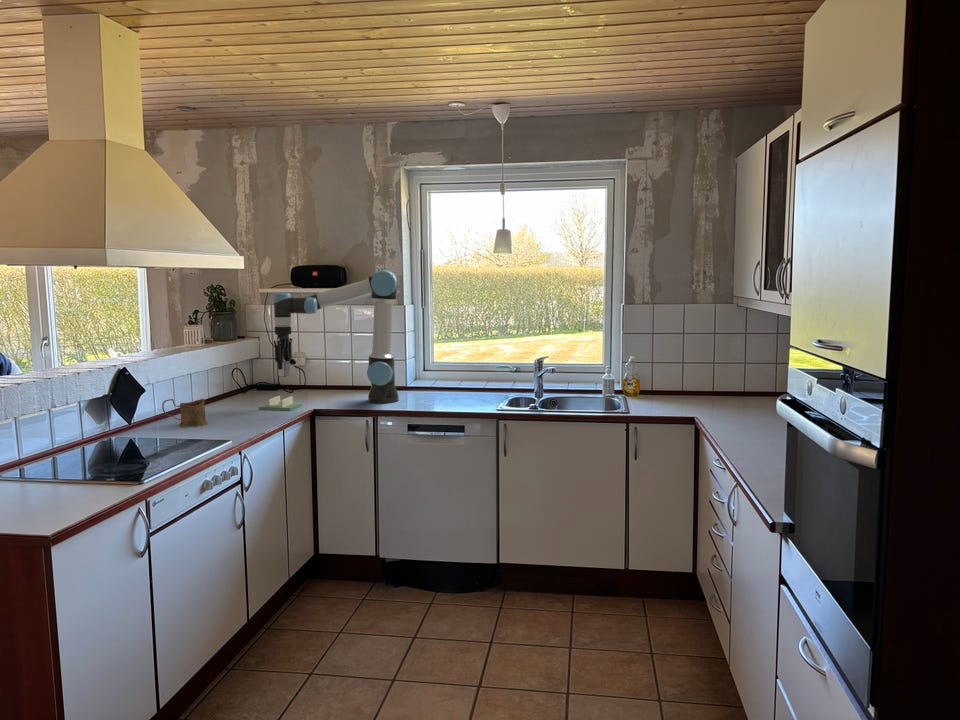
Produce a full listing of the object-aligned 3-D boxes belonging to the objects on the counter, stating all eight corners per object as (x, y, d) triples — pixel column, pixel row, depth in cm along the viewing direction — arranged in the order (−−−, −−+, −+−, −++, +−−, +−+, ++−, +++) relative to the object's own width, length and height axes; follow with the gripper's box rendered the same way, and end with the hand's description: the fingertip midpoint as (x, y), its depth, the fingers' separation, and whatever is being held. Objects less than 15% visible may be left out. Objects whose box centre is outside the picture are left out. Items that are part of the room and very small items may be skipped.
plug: (289, 375, 339) (289, 361, 338) (285, 376, 335) (285, 362, 334) (281, 375, 340) (281, 360, 339) (277, 376, 336) (276, 361, 335)
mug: (160, 426, 302) (159, 398, 300) (203, 420, 312) (202, 393, 311) (167, 431, 293) (165, 402, 291) (211, 425, 303) (209, 397, 301)
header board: (302, 405, 343) (301, 396, 343) (290, 410, 332) (289, 400, 331) (272, 404, 347) (271, 395, 346) (259, 409, 335) (258, 399, 335)
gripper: (284, 324, 344) (285, 372, 347) (266, 327, 327) (267, 377, 330) (298, 324, 342) (299, 373, 345) (281, 327, 325) (282, 378, 328)
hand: (283, 375), depth 337 cm, fingers closed on plug, 4 cm apart
